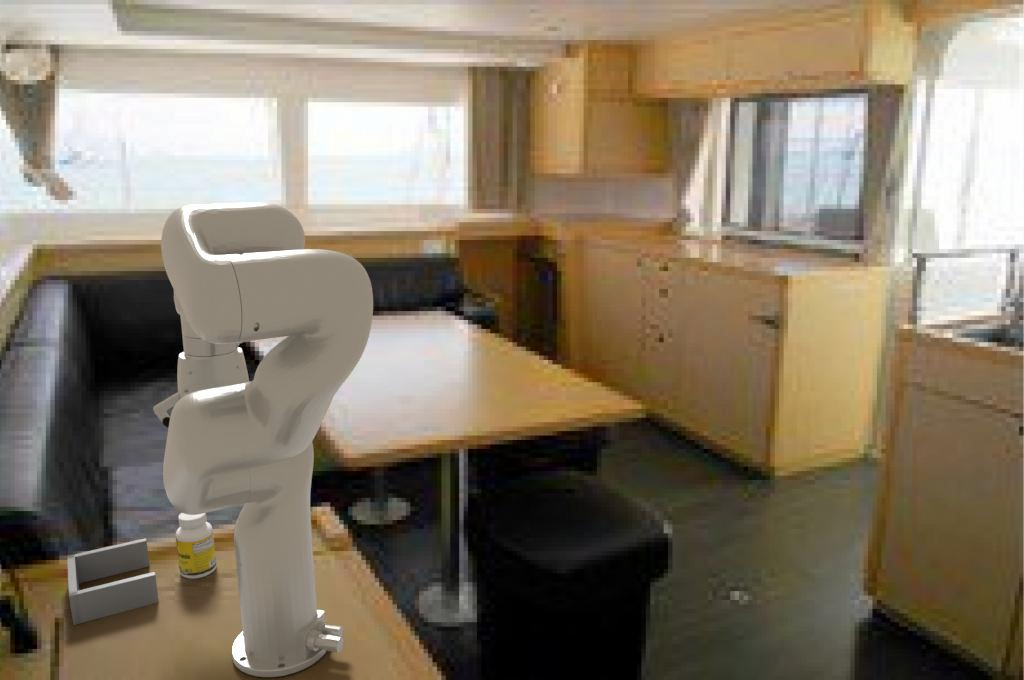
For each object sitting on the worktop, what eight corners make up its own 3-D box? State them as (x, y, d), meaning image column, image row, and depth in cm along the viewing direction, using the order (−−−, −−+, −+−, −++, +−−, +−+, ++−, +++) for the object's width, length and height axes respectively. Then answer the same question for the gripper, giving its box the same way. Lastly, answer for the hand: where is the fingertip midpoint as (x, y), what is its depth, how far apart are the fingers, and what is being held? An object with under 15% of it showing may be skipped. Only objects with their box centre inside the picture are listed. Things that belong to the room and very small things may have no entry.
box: (149, 563, 124) (145, 538, 122) (158, 602, 113) (155, 574, 112) (71, 582, 118) (67, 555, 117) (73, 625, 107) (68, 596, 106)
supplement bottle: (175, 570, 121) (168, 513, 119) (209, 558, 125) (203, 503, 123) (187, 583, 118) (180, 525, 115) (222, 571, 121) (216, 514, 119)
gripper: (265, 332, 121) (272, 433, 126) (145, 344, 114) (157, 451, 118) (274, 343, 115) (281, 449, 119) (148, 357, 107) (160, 469, 112)
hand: (220, 450), depth 119 cm, fingers open, 9 cm apart
